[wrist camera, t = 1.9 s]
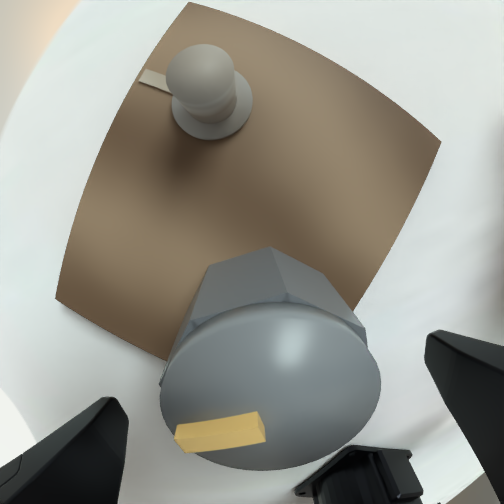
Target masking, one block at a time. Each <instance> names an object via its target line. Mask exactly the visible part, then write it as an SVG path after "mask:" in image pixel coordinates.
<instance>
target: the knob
mask: <svg viewBox="0 0 504 504" xmlns="http://www.w3.org/2000/svg"><path fill="white" fill-rule="evenodd" d="M159 385H160V387H161V392H160V407H161V411H162V415H163V418H164V420H165V422H166V425H167V426H168V428H169V429H170V431H171V432H172V434H173V435H174V436H175V437H174V440H175V442H176V443H177V444H178V445H179V446H180V448H181V449H182V450H183V451H184V453H195V454H197V455H199V456H201V457H203V458H205V459H207V460H209V461H212V462H214V463H217V464H220V465H224V466H227V467H232V468H236V469H243V470H255V471H268V470H280V469H287V468H292V467H297V466H300V465H304V464H307V463H310V462H313V461H316V460H318V459H320V458H323V457H325V456H327V455H329V454H331V453H332V452H334V451H336V450H338V449H339V448H341V447H342V446H344V445H345V444H346V443H348V442H349V441H350V440H351V439H352V438H354V437H355V436H356V435H357V434H358V433H359V432H360V431H361V430H362V428H363V427H364V426H365V425H366V423H367V422H368V421H369V419H370V418H371V416H372V414H373V412H374V411H375V408H376V406H377V403H378V401H379V396H380V391H381V378H380V372H379V369H378V366H377V363H376V361H375V359H374V358H373V356H372V355H371V353H370V351H369V350H368V346H367V338H366V330H365V328H364V326H363V325H362V324H361V322H360V321H359V320H358V318H357V317H356V316H355V314H354V313H353V312H352V310H351V309H350V308H349V306H348V305H347V304H346V302H345V301H344V300H343V299H342V297H341V296H340V295H339V293H338V292H337V291H336V289H335V288H334V287H333V286H332V284H331V283H330V282H329V280H328V279H327V278H326V277H325V275H324V274H323V273H321V272H319V271H317V270H315V269H313V268H311V267H309V266H307V265H305V264H304V263H302V262H300V261H298V260H296V259H294V258H292V257H290V256H288V255H286V254H284V253H282V252H280V251H278V250H276V249H274V248H272V247H270V246H269V247H266V248H263V249H260V250H257V251H253V252H250V253H247V254H244V255H240V256H237V257H234V258H231V259H227V260H224V261H221V262H218V263H214V264H211V265H209V267H208V269H207V271H206V273H205V275H204V277H203V279H202V281H201V283H200V285H199V287H198V289H197V291H196V293H195V295H194V297H193V299H192V301H191V304H190V306H189V308H188V310H187V312H186V314H185V316H184V319H183V321H182V324H181V326H180V329H179V332H178V334H177V337H176V339H175V342H174V345H173V347H172V350H171V352H170V355H169V358H168V360H167V363H166V366H165V369H164V371H163V374H162V377H161V379H160V382H159Z"/></svg>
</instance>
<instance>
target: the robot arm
mask: <svg viewBox="0 0 504 504" xmlns="http://www.w3.org/2000/svg"><path fill="white" fill-rule="evenodd" d="M424 360H425V364H426V366H427V368H428V370H429V372H430V374H431V376H432V378H433V380H434V382H435V384H436V386H437V388H438V390H439V392H440V394H441V396H442V398H443V400H444V402H445V404H446V406H447V407H448V409H449V411H450V412H451V414H452V415H453V417H454V419H455V420H456V422H457V424H458V425H459V427H460V429H461V430H462V432H463V434H464V435H465V437H466V439H467V440H468V442H469V444H470V446H471V447H472V449H473V451H474V453H475V455H476V456H477V458H478V460H479V462H480V464H481V465H482V467H483V469H484V471H485V473H486V475H487V477H488V479H489V480H490V483H491V485H492V486H493V489H494V491H495V493H496V495H497V497H498V499H499V501H500V503H501V504H504V346H501V345H497V344H493V343H489V342H485V341H481V340H478V339H474V338H470V337H466V336H462V335H459V334H455V333H451V332H448V331H444V330H437V331H434V332H432V333H429V334H428V335H427V338H426V346H425V355H424ZM128 425H129V420H128V417H127V415H126V413H125V411H124V410H123V408H122V407H121V405H120V403H119V402H118V400H117V399H116V398H115V397H102V398H100V399H99V400H98V401H96V402H95V403H93V404H92V405H91V406H89V407H88V408H87V409H85V410H84V411H82V412H81V413H80V414H78V415H77V416H75V417H74V418H73V419H71V420H70V421H68V422H67V423H66V424H64V425H63V426H61V427H60V428H59V429H57V430H56V431H54V432H53V433H51V434H50V435H49V436H47V437H46V438H44V439H43V440H41V441H40V442H38V443H37V444H36V445H34V446H33V447H32V448H30V449H29V450H27V451H25V452H24V453H23V454H21V455H19V456H18V457H16V458H15V459H13V460H12V461H10V462H9V463H7V464H6V465H4V466H2V467H1V468H0V504H117V502H118V496H119V491H120V485H121V480H122V475H123V470H124V464H125V455H126V444H127V434H128ZM411 457H412V453H411V451H410V450H399V449H386V448H376V447H367V446H359V445H353V446H350V447H348V448H346V449H345V450H344V451H343V452H341V453H340V454H339V455H338V456H337V457H336V458H335V459H333V460H332V461H331V462H330V463H329V464H327V465H326V466H325V467H324V468H322V469H321V470H320V471H319V472H317V473H316V474H315V475H314V476H312V477H311V478H310V479H308V480H307V481H306V482H304V483H303V484H302V485H300V486H299V487H298V488H296V489H295V495H296V496H300V497H313V500H314V504H423V503H422V501H421V499H420V496H422V495H423V488H422V486H421V484H420V482H419V480H418V478H417V476H416V474H415V472H414V470H413V468H412V466H411V464H410V462H409V459H410V458H411ZM437 504H441V503H440V502H439V503H437Z"/></svg>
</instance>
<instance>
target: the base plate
mask: <svg viewBox="0 0 504 504" xmlns="http://www.w3.org/2000/svg"><path fill="white" fill-rule="evenodd" d="M440 144H441V141H440V140H439V139H438V138H437V137H436V136H435V135H433V134H432V133H431V132H430V131H429V130H428V129H427V128H426V127H424V126H423V125H422V124H421V123H420V122H419V121H417V120H416V119H415V118H414V117H412V116H411V115H410V114H409V113H408V112H406V111H405V110H404V109H402V108H401V107H400V106H399V105H397V104H396V103H395V102H393V101H392V100H391V99H389V98H388V97H387V96H385V95H384V94H382V93H381V92H380V91H378V90H377V89H375V88H374V87H373V86H371V85H370V84H368V83H367V82H365V81H364V80H362V79H361V78H359V77H358V76H356V75H354V74H353V73H351V72H350V71H348V70H346V69H345V68H343V67H342V66H340V65H338V64H337V63H335V62H333V61H331V60H330V59H328V58H326V57H324V56H323V55H321V54H319V53H317V52H315V51H313V50H311V49H310V48H308V47H306V46H304V45H302V44H300V43H298V42H296V41H294V40H292V39H289V38H287V37H285V36H283V35H281V34H279V33H276V32H274V31H272V30H270V29H267V28H265V27H262V26H260V25H258V24H255V23H253V22H250V21H247V20H245V19H242V18H239V17H237V16H234V15H231V14H228V13H225V12H222V11H219V10H216V9H213V8H209V7H206V6H203V5H199V4H195V3H192V2H188V4H187V5H186V6H185V7H184V9H183V10H182V11H181V12H180V14H179V15H178V16H177V18H176V19H175V20H174V22H173V23H172V24H171V26H170V27H169V28H168V30H167V31H166V33H165V34H164V35H163V37H162V38H161V40H160V41H159V43H158V44H157V46H156V47H155V49H154V50H153V52H152V53H151V55H150V56H149V58H148V59H147V61H146V63H145V64H144V66H143V67H142V69H141V71H140V72H139V74H138V76H137V77H136V79H135V81H134V83H133V84H132V86H131V88H130V90H129V92H128V93H127V95H126V97H125V99H124V101H123V103H122V105H121V106H120V108H119V110H118V112H117V114H116V116H115V118H114V120H113V122H112V124H111V127H110V129H109V131H108V133H107V135H106V137H105V139H104V142H103V144H102V146H101V148H100V151H99V153H98V156H97V158H96V160H95V163H94V165H93V168H92V170H91V173H90V175H89V178H88V181H87V183H86V186H85V189H84V192H83V195H82V197H81V200H80V203H79V206H78V209H77V212H76V216H75V219H74V222H73V225H72V229H71V232H70V236H69V239H68V243H67V247H66V251H65V255H64V259H63V263H62V267H61V272H60V276H59V281H58V286H57V291H56V297H55V299H56V300H58V301H59V302H61V303H62V304H64V305H65V306H67V307H68V308H70V309H72V310H73V311H75V312H76V313H78V314H80V315H81V316H83V317H85V318H86V319H88V320H90V321H91V322H93V323H95V324H96V325H98V326H100V327H102V328H103V329H105V330H107V331H109V332H110V333H112V334H114V335H116V336H118V337H119V338H121V339H123V340H125V341H127V342H129V343H131V344H133V345H135V346H137V347H139V348H141V349H143V350H145V351H147V352H149V353H151V354H153V355H155V356H157V357H159V358H161V359H163V360H165V361H167V360H168V358H169V355H170V352H171V350H172V347H173V345H174V342H175V339H176V337H177V334H178V332H179V329H180V326H181V324H182V321H183V319H184V316H185V314H186V312H187V310H188V308H189V306H190V304H191V301H192V299H193V297H194V295H195V293H196V291H197V289H198V287H199V285H200V283H201V281H202V279H203V277H204V275H205V273H206V271H207V269H208V267H209V265H211V264H214V263H218V262H221V261H224V260H227V259H231V258H234V257H237V256H240V255H244V254H247V253H250V252H253V251H257V250H260V249H263V248H266V247H269V246H270V247H272V248H274V249H276V250H278V251H280V252H282V253H284V254H286V255H288V256H290V257H292V258H294V259H296V260H298V261H300V262H302V263H304V264H305V265H307V266H309V267H311V268H313V269H315V270H317V271H319V272H321V273H323V274H324V275H325V277H326V278H327V279H328V280H329V282H330V283H331V284H332V286H333V287H334V288H335V289H336V291H337V292H338V293H339V295H340V296H341V297H342V299H343V300H344V301H345V302H346V304H347V305H348V306H349V308H350V309H351V310H352V312H353V310H354V309H355V307H356V306H357V304H358V303H359V301H360V299H361V298H362V296H363V295H364V293H365V292H366V290H367V288H368V287H369V285H370V283H371V282H372V280H373V278H374V277H375V275H376V273H377V272H378V270H379V268H380V267H381V265H382V263H383V262H384V260H385V258H386V256H387V255H388V253H389V251H390V249H391V247H392V246H393V244H394V242H395V240H396V238H397V236H398V234H399V233H400V231H401V229H402V227H403V225H404V223H405V221H406V219H407V217H408V215H409V213H410V211H411V209H412V207H413V205H414V203H415V201H416V199H417V197H418V195H419V193H420V191H421V188H422V186H423V184H424V182H425V180H426V177H427V175H428V173H429V171H430V168H431V166H432V164H433V161H434V159H435V157H436V154H437V152H438V149H439V147H440Z"/></svg>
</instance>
